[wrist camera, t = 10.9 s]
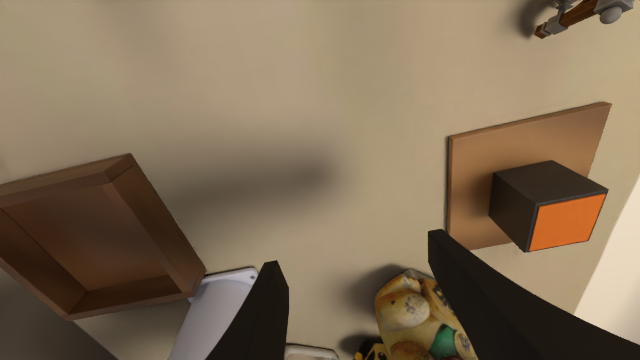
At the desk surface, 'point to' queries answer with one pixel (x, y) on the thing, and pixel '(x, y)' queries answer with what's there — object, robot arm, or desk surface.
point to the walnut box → (95, 240)
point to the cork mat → (513, 163)
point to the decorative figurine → (419, 321)
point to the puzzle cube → (545, 205)
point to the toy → (372, 352)
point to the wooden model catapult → (582, 14)
